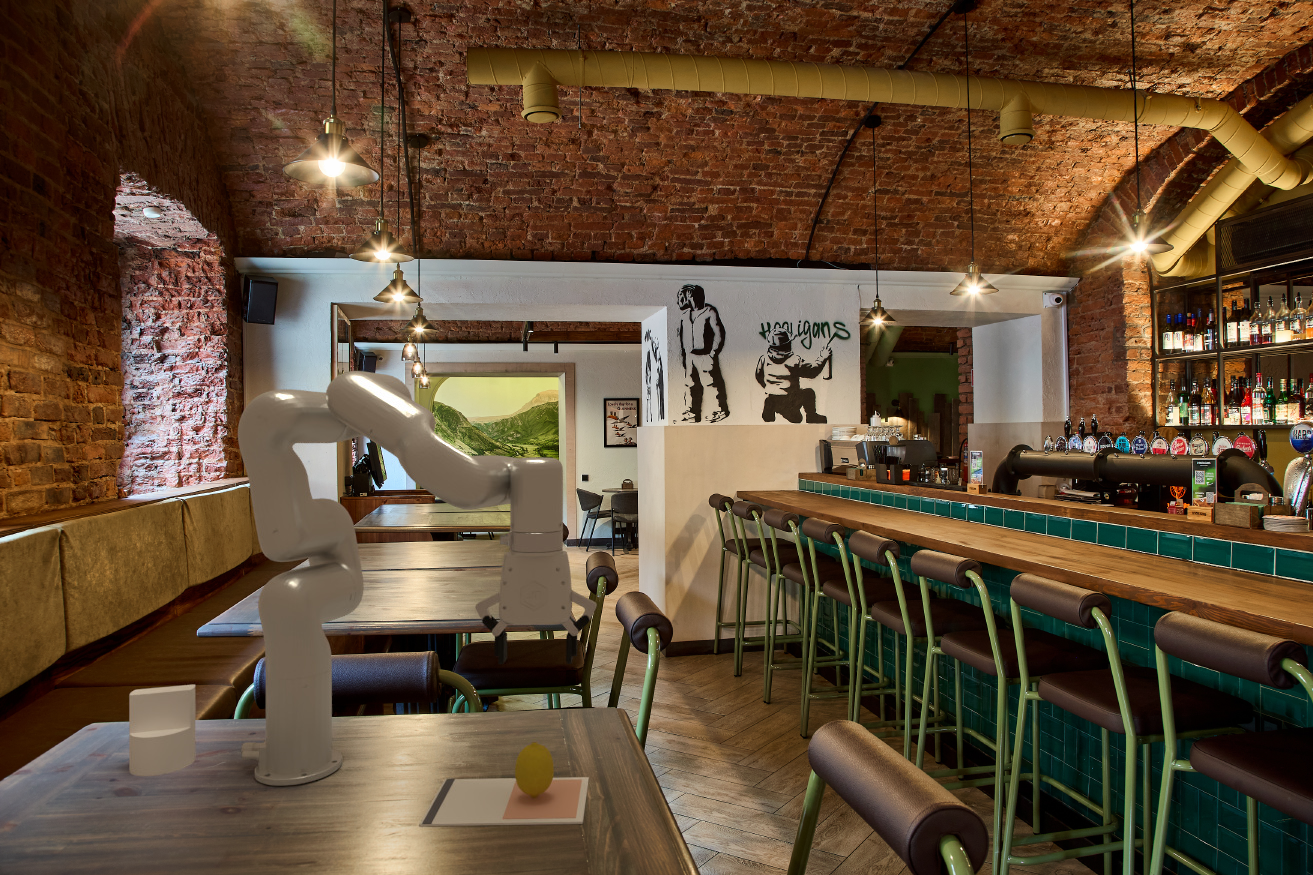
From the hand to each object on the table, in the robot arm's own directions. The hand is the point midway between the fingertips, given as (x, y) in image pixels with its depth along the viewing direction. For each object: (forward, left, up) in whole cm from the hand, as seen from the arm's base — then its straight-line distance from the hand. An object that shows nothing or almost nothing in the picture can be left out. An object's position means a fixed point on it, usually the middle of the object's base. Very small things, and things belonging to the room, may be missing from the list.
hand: (536, 661), depth 113 cm
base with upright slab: (-62, +15, -20) cm, 67 cm away
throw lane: (-4, 0, -20) cm, 20 cm away
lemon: (0, 0, -20) cm, 20 cm away
